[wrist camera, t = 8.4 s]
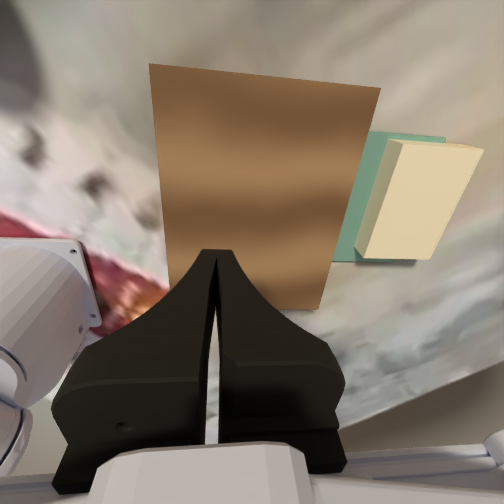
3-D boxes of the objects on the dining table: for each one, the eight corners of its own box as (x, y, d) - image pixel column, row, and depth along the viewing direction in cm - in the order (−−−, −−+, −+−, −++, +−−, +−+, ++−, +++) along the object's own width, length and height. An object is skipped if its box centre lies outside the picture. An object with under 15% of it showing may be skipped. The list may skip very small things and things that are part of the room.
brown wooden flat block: (305, 280, 26) (318, 309, 23) (178, 278, 25) (171, 309, 21) (351, 87, 18) (381, 88, 14) (164, 68, 16) (148, 63, 13)
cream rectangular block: (363, 258, 22) (353, 246, 24) (429, 259, 23) (415, 247, 25) (403, 143, 18) (387, 138, 19) (484, 149, 18) (462, 144, 20)
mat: (391, 260, 26) (392, 262, 25) (310, 258, 25) (311, 260, 25) (443, 137, 20) (445, 138, 20) (341, 128, 19) (342, 129, 19)
